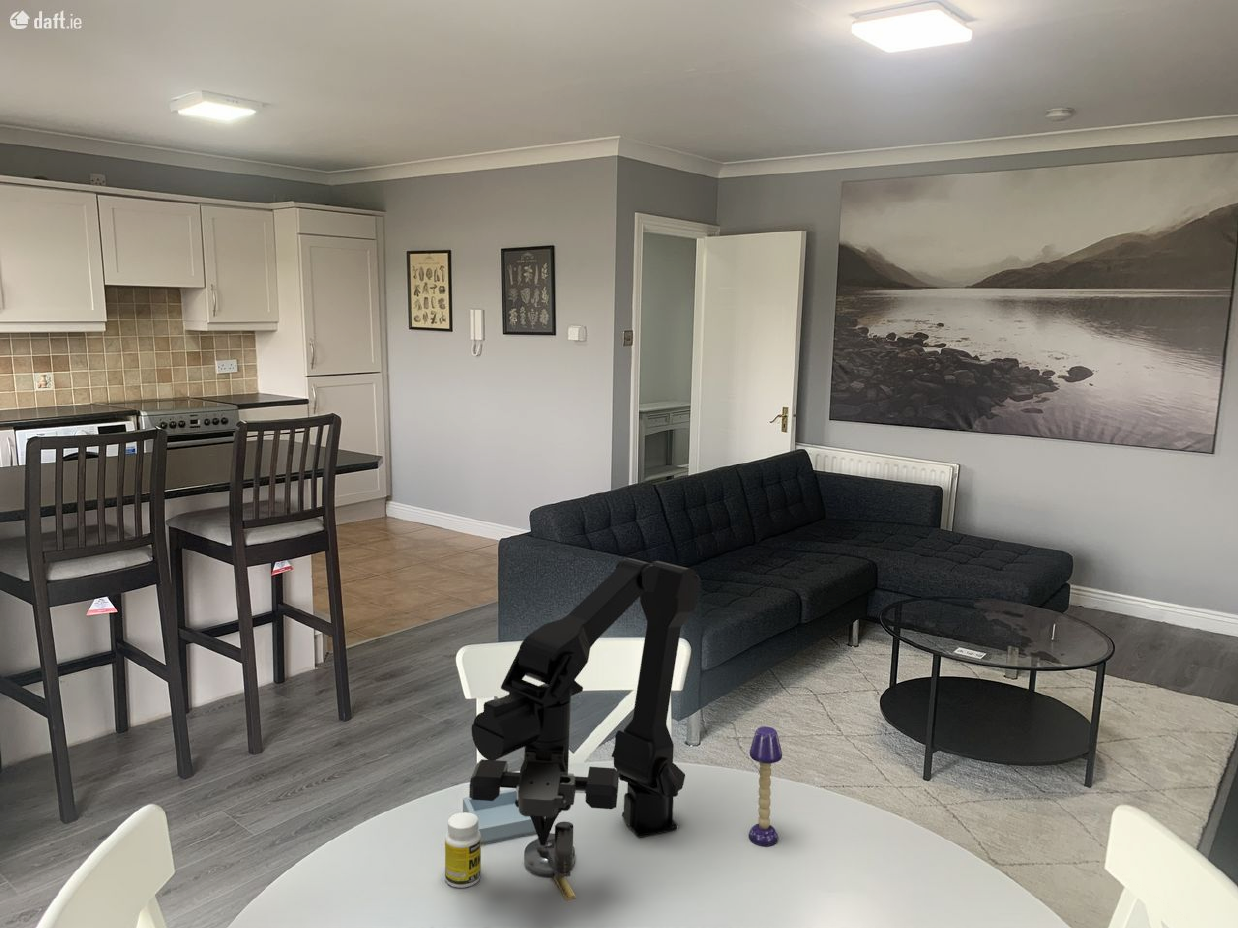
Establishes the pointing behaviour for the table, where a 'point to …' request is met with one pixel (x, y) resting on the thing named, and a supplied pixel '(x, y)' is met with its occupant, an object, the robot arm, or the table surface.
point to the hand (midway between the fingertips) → (543, 843)
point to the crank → (559, 849)
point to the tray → (499, 818)
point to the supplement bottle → (462, 850)
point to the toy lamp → (765, 782)
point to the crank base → (545, 868)
